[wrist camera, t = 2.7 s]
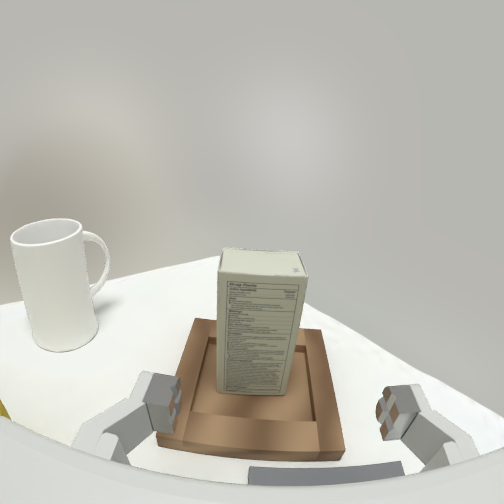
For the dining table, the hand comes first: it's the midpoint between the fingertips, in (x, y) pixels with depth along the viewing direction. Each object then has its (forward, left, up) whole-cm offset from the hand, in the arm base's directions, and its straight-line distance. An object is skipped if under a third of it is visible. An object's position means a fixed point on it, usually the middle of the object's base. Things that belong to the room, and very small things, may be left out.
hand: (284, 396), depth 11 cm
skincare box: (-1, +12, -12) cm, 18 cm away
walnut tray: (-1, +12, -13) cm, 18 cm away
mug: (-22, +17, -13) cm, 30 cm away
